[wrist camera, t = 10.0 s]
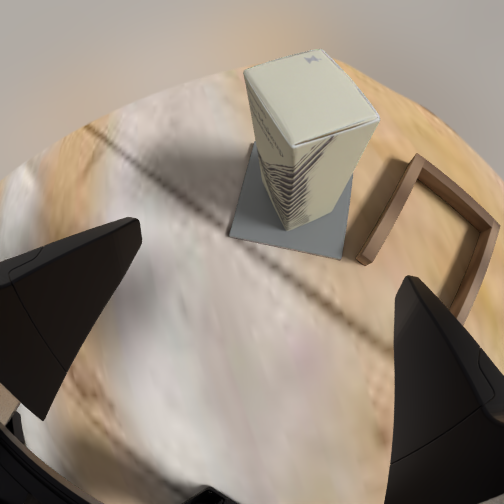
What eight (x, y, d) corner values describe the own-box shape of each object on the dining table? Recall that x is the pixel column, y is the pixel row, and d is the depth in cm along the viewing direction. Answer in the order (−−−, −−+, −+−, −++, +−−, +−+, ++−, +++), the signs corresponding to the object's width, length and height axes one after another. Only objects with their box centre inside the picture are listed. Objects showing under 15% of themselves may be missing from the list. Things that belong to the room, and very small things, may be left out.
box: (260, 180, 23) (235, 65, 11) (307, 161, 23) (319, 42, 10) (287, 236, 22) (289, 149, 9) (336, 214, 22) (386, 116, 9)
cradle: (448, 329, 19) (460, 331, 17) (355, 258, 21) (362, 254, 19) (489, 230, 20) (500, 225, 18) (409, 163, 22) (416, 152, 20)
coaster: (340, 260, 22) (341, 259, 21) (230, 237, 23) (229, 236, 23) (353, 161, 23) (354, 159, 23) (255, 143, 24) (254, 141, 24)
